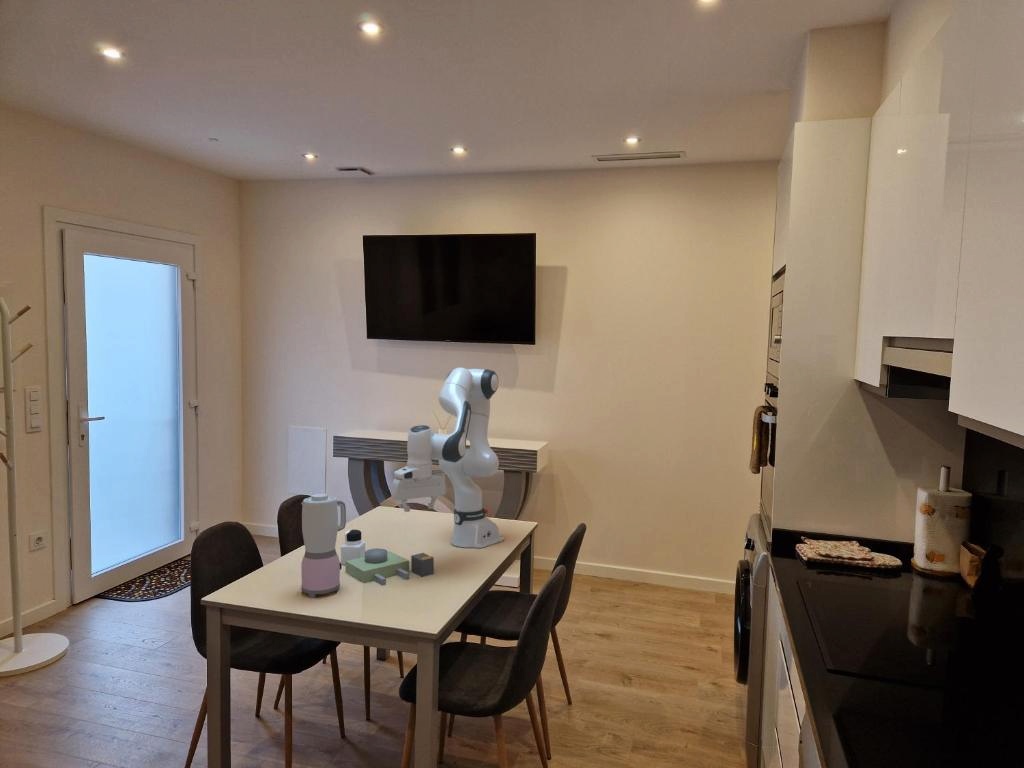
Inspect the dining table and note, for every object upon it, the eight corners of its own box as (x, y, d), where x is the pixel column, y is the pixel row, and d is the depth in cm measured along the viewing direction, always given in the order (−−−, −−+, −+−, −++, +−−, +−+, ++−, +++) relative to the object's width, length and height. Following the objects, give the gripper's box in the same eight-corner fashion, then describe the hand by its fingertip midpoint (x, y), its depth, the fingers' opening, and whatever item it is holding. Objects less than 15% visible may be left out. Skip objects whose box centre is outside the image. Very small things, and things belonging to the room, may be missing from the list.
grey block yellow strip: (423, 569, 244) (423, 551, 244) (433, 574, 239) (433, 555, 238) (411, 572, 241) (411, 553, 240) (421, 577, 235) (421, 558, 235)
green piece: (390, 561, 252) (389, 543, 251) (418, 576, 236) (418, 556, 236) (345, 571, 240) (345, 552, 240) (372, 587, 225) (371, 567, 224)
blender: (312, 601, 213) (310, 501, 211) (294, 590, 222) (292, 495, 220) (355, 588, 224) (354, 494, 222) (337, 579, 233) (336, 488, 231)
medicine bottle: (365, 559, 254) (365, 528, 253) (359, 565, 247) (359, 533, 246) (347, 559, 255) (347, 527, 254) (340, 565, 248) (340, 533, 247)
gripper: (441, 468, 248) (440, 505, 248) (389, 472, 236) (389, 511, 236) (449, 470, 242) (448, 508, 243) (397, 475, 231) (396, 515, 231)
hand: (419, 510), depth 240 cm, fingers open, 8 cm apart
